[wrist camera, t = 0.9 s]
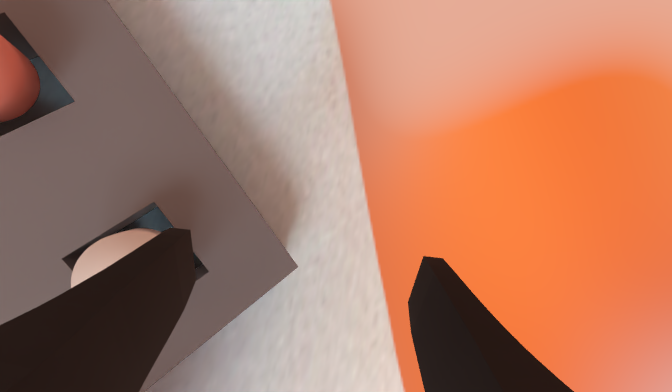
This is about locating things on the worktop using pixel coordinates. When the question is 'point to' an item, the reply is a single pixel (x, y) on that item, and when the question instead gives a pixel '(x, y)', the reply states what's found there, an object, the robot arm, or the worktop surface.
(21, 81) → the red button
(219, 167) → the block
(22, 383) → the robot arm
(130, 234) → the beige button
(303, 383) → the worktop surface
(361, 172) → the worktop surface
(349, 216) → the worktop surface
